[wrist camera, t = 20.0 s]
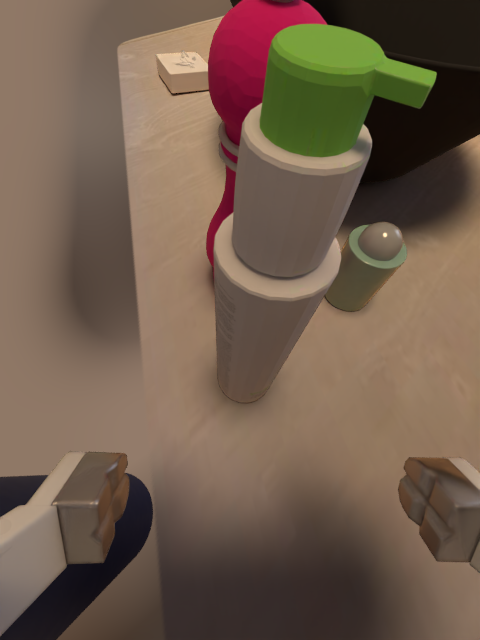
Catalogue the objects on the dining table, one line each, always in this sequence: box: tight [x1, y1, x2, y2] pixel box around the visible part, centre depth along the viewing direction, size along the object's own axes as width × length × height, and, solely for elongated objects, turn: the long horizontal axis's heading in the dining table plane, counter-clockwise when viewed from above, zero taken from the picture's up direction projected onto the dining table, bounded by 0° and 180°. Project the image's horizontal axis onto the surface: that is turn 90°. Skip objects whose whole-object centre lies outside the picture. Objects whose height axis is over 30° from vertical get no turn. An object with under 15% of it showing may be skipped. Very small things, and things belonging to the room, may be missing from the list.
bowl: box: [230, 0, 480, 182], centre depth 32 cm, size 36×36×15 cm
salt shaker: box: [325, 222, 407, 311], centre depth 24 cm, size 5×5×8 cm
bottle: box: [213, 24, 437, 403], centre depth 14 cm, size 4×4×20 cm
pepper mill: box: [206, 0, 327, 279], centre depth 18 cm, size 7×7×20 cm
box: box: [156, 51, 209, 93], centre depth 47 cm, size 20×11×3 cm, turn 115°
